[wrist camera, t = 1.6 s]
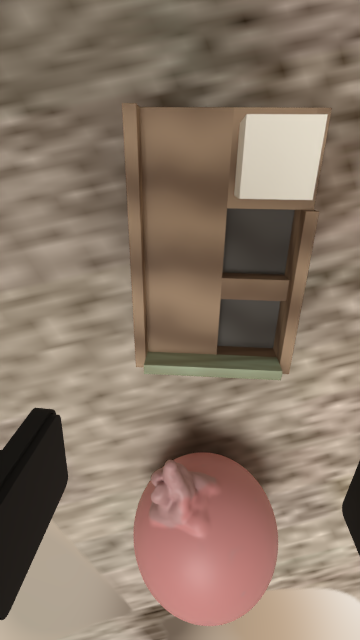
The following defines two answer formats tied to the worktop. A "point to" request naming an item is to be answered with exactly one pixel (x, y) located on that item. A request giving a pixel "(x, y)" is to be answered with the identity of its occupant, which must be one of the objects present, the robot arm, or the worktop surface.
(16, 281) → the worktop surface
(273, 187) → the block
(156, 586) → the balloon
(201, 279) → the box
